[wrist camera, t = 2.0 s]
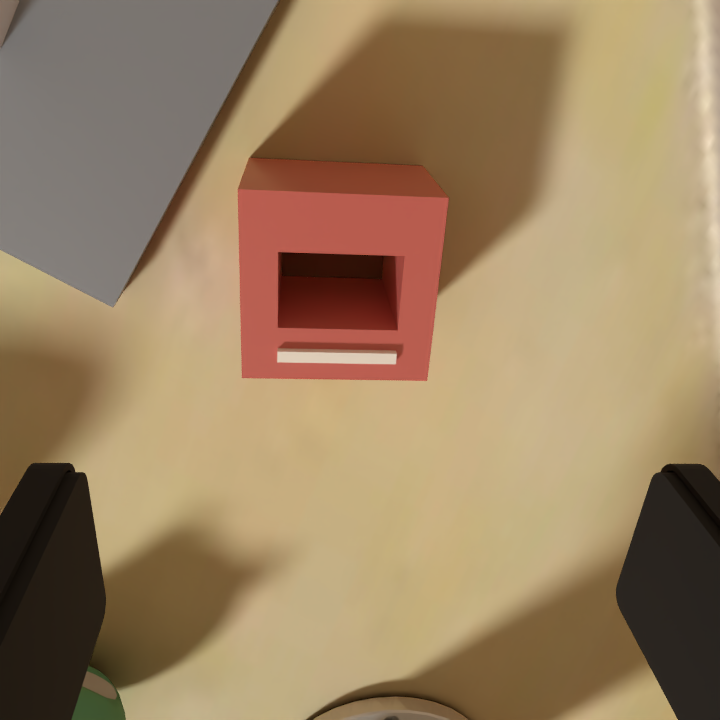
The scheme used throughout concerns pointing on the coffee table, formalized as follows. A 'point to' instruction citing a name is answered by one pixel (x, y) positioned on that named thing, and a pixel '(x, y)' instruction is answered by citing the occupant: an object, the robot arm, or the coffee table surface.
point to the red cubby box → (332, 294)
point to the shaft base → (108, 123)
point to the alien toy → (98, 699)
